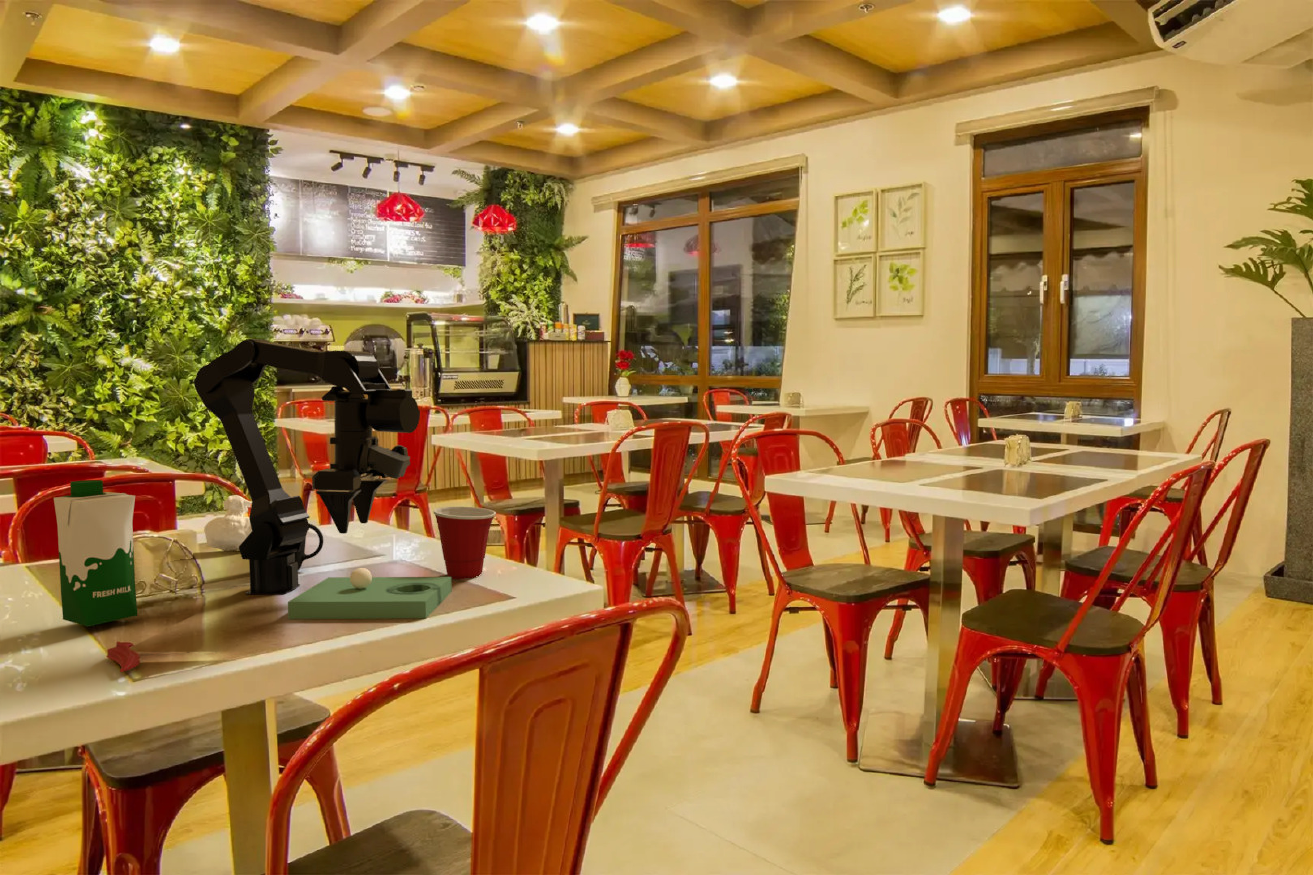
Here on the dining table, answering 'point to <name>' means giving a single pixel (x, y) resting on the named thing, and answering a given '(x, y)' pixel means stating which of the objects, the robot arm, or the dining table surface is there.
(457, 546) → the plastic cup
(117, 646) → the cayenne pepper
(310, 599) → the putting mat
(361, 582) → the ball
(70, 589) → the milk carton
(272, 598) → the dining table surface
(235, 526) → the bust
